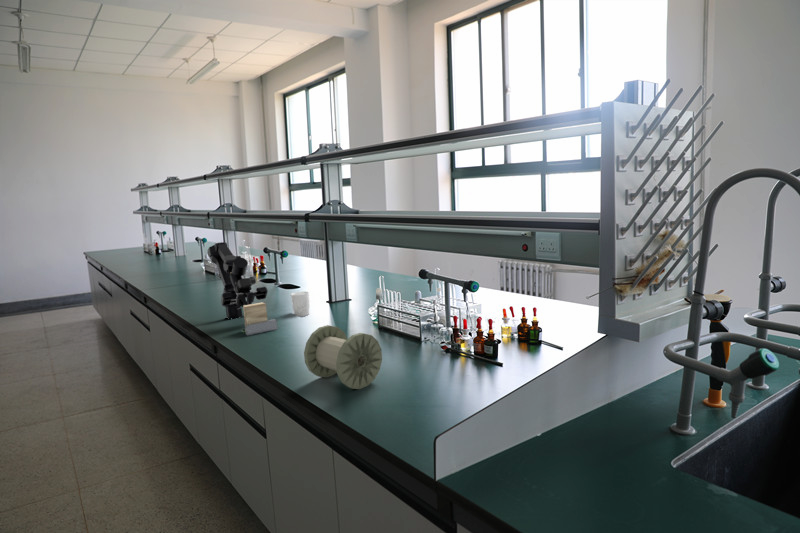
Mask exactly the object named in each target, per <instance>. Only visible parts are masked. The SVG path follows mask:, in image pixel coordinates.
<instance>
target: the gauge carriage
mask: <svg viewBox="0 0 800 533" xmlns="http://www.w3.org/2000/svg"><path fill="white" fill-rule="evenodd" d="M242 309H243V310H242V312H243V315H244V317H243V319H244V326H245V325H246V324H251V323H256V322H261V321H266V320H268V314H267V313H268V312H267V304H266V302H265V303H264V302H256V303H252V304H250V305H244V306H243V307H242ZM242 331H245V328H243V329H241V332H242Z"/></svg>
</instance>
